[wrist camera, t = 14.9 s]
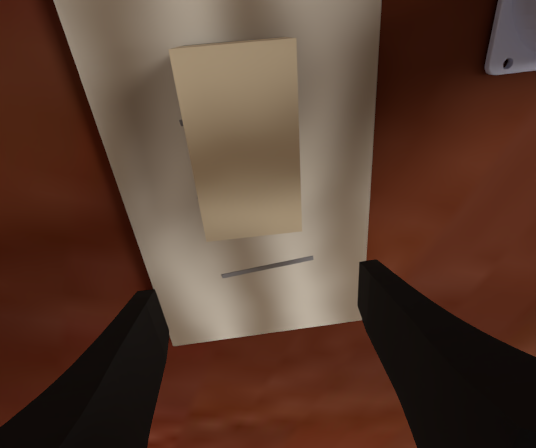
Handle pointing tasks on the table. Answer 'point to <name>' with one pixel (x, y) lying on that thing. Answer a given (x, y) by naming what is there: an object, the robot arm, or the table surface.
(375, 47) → the birch board
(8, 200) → the table surface
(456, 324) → the robot arm
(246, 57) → the block
